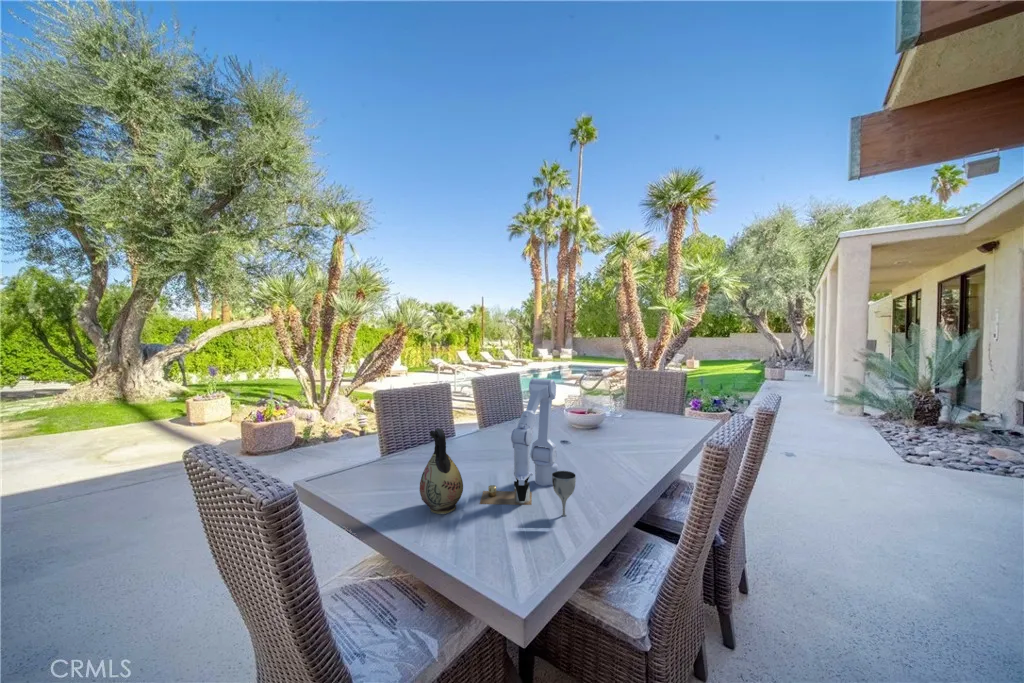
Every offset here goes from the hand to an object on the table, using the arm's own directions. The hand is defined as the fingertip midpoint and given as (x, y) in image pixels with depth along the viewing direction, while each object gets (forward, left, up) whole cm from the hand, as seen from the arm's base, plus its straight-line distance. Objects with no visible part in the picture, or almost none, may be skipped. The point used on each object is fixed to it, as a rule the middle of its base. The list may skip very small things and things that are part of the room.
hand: (522, 497), depth 148 cm
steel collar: (0, 0, -1) cm, 1 cm away
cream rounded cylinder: (+11, -4, -2) cm, 12 cm away
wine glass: (-15, +11, -2) cm, 19 cm away
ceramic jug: (+28, +6, -2) cm, 29 cm away
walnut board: (+6, -3, -2) cm, 7 cm away
